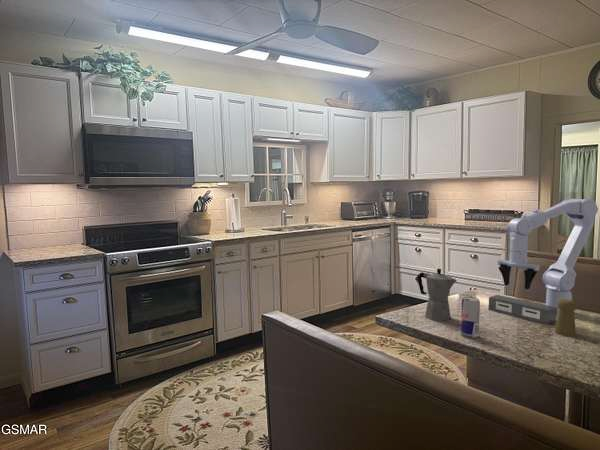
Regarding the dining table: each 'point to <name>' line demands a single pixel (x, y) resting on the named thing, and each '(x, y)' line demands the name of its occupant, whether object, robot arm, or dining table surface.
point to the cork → (566, 318)
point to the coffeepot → (437, 294)
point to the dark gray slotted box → (523, 309)
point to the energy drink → (470, 317)
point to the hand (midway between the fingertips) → (516, 286)
